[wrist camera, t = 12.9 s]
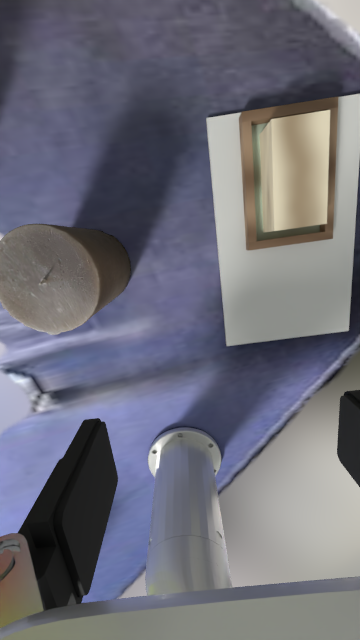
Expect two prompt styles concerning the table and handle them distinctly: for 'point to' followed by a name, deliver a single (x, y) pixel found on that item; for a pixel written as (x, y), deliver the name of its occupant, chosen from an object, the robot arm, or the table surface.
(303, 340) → the table surface
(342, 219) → the mat
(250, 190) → the frame
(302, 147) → the tall cream rectangular prism
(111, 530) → the table surface
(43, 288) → the pillar candle
